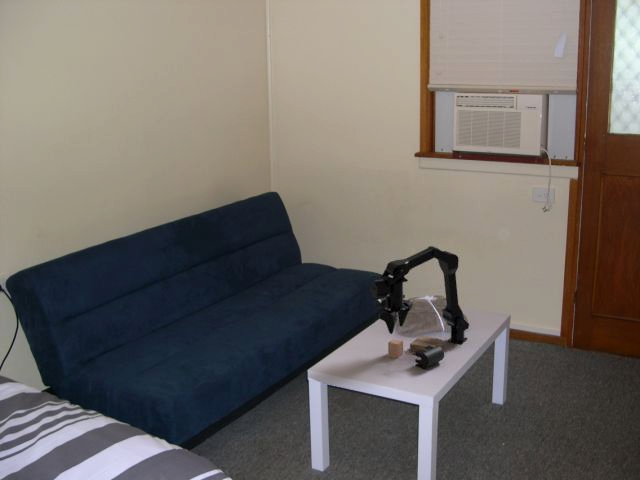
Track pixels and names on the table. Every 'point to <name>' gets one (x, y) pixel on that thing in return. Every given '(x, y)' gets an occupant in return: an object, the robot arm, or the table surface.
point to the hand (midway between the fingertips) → (396, 329)
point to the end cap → (429, 356)
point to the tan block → (424, 343)
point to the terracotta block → (395, 348)
